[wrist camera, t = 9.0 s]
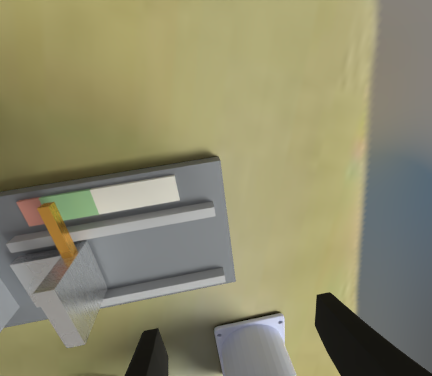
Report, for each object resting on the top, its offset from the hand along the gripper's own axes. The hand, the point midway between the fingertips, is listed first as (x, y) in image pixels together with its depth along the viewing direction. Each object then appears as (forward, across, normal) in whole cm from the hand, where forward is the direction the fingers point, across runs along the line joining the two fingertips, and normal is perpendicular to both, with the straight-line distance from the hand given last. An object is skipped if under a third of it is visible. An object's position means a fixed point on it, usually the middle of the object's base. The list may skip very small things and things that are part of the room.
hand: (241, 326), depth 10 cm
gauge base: (+10, +10, +1) cm, 14 cm away
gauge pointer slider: (+9, +13, 0) cm, 16 cm away
